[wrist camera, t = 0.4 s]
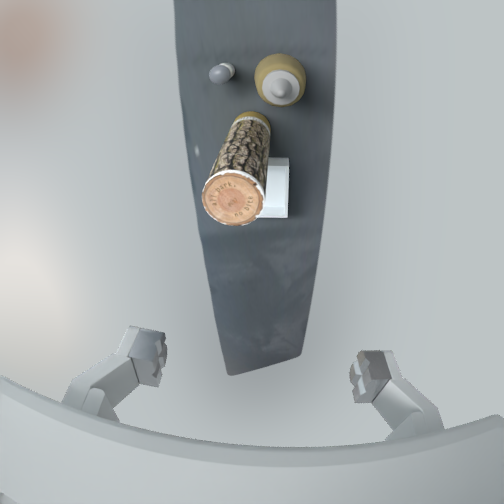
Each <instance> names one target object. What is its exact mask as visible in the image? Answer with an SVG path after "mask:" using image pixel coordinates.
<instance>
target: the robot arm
mask: <svg viewBox="0 0 504 504" xmlns="http://www.w3.org/2000/svg"><path fill="white" fill-rule="evenodd" d="M165 339H166V337H165V333H163V332H159V331H154V330H149V329H144V328H139V327H135V326H129V327H128V329H127V330H126V333H125V335H124V337H123V339H122V341H121V343H120V346H119V348H118V350H117V352H116V354H111V355H110V356H108V357H107V358H105V359H103V360H102V361H100V362H99V363H97V364H96V365H94V366H93V367H91V368H90V369H88V370H86V371H85V372H83V373H82V374H80V375H79V376H77V377H75V378H74V379H73V380H72V381H71V383H70V386H69V387H68V390H67V392H66V394H65V396H64V398H63V400H62V402H61V403H60V402H58V401H55V400H53V399H50V398H48V397H46V396H43V395H41V394H39V393H37V392H34V391H32V390H30V389H28V388H26V387H24V386H22V385H20V384H18V383H16V382H14V381H12V380H10V379H8V378H6V377H4V376H2V375H0V504H504V418H502V417H501V416H500V415H491V416H489V417H486V418H483V419H479V420H477V421H473V422H470V423H467V424H463V425H460V426H456V427H453V428H449V429H444V426H443V423H442V420H441V417H440V414H439V411H438V408H437V407H436V406H435V405H434V404H433V403H432V402H430V401H429V400H428V399H427V398H426V397H425V396H424V395H423V394H422V393H421V392H420V391H418V390H417V389H416V388H415V387H414V386H413V385H412V384H411V383H410V382H408V381H407V380H406V379H403V378H402V375H401V373H400V370H399V367H398V364H397V361H396V359H395V356H394V353H393V352H392V351H380V350H374V351H360V352H359V353H358V355H357V359H358V360H356V361H355V362H353V364H352V366H351V368H350V382H351V383H352V384H353V385H354V386H355V387H354V389H353V396H354V401H355V403H372V405H373V406H374V407H375V408H376V409H377V410H378V412H379V413H380V414H381V416H382V417H383V418H384V420H385V421H386V422H387V423H388V424H389V426H390V427H391V428H392V429H393V432H392V433H391V434H390V435H389V436H388V437H387V438H386V439H385V441H383V442H375V443H366V444H357V445H345V446H329V447H265V446H249V445H238V444H227V443H218V442H211V441H203V440H197V439H190V438H184V437H179V436H174V435H168V434H163V433H159V432H154V431H149V430H146V429H141V428H137V427H133V426H130V425H126V424H122V423H119V419H118V417H117V415H116V413H115V412H114V410H113V408H114V407H115V406H116V405H117V404H118V403H119V402H121V401H122V400H123V399H124V398H125V397H126V396H127V395H129V394H130V393H131V392H132V391H133V390H134V389H135V388H136V387H138V386H139V384H143V385H149V386H154V387H159V384H160V380H161V377H162V372H161V369H162V368H163V367H164V366H165V363H166V359H167V345H166V344H165V343H164V342H165Z"/></svg>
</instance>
